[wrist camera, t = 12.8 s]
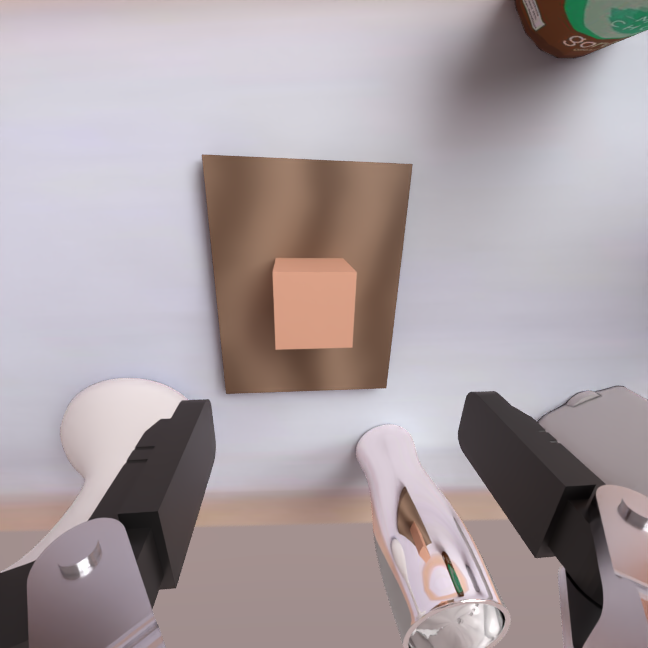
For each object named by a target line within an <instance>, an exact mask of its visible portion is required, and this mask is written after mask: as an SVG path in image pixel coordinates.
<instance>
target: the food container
mask: <svg viewBox="0 0 648 648" xmlns="http://www.w3.org/2000/svg"><path fill="white" fill-rule="evenodd" d="M515 5H516V10H517V12H518V15H519V17H520V20H521V23H522V25H523V28H524V30H525V33H526V34H527V35H528V36H529V38H530V39H531V40H532V41H533V42H534V43H535V44H536V46H537V47H538V48H539V49H540V50H542V51H544V52H546V53H548V54H550V55H553V56H555V57H557V58H576V57H580V56H584V55H587V54H589V53H592V52H594V51H596V50H599V49H601V48H604V47H606V46H609V45H611V44H614V43H616V42H619V41H621V40H624V39H626V38H629V37H631V36H634V35H636V34H639V33H641V32H643V31H646V30H648V0H515Z"/></svg>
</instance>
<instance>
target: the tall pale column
mask: <svg viewBox="0 0 648 648" xmlns="http://www.w3.org/2000/svg"><path fill="white" fill-rule="evenodd" d="M597 393H598V394H597ZM538 423H539V424H540V425H541V426H542V427H543V428H544V429H545V431H546V432H549V433H550V434H551V435H552V436H553V437H554V438H555V439H556V440H557V442H558V443H561V444H562V445H563V446H564V447H565V448H566V449H567V450H569V451H570V452H571V453H572V454H573V455H574V456H575V457H576V458H577V459H579V460H580V461H581V462H582V463H583V464H584V465H585V466H586V467H587V468H589V469H590V470H591V471H592V472H593V473H594V474H595V475H596V476H597V477H599V478H600V479H601V480H602V481H603V482H604V483H605V484H606V485H617V486H622V487H625V488H628V489H631V490H634V491H636V492H638V493H641V494H643V495H645V496H646V497H648V400H647V399H645V398H644V397H642V396H640V395H638V394H636V393H635V392H633V391H631V390H629V389H627V388H625V387H624V386H614V387H610V388H607V389H603V390H600V391H596V392H593V391H584V392H580V393H578V394H576V395H575V396H573V397H572V398H571V399H570V400H569V401H568V402H567V403H566V404H564V405H562V406H560V407H558V408H557V409H555V410H553V411H551V412H549V413H547V414H545V415H544V416H543V417H542V418H541V419H540V420H539V421H538Z"/></svg>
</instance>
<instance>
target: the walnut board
mask: <svg viewBox="0 0 648 648" xmlns="http://www.w3.org/2000/svg"><path fill="white" fill-rule="evenodd" d="M202 161H203V171H204V180H205V190H206V200H207V210H208V220H209V230H210V240H211V250H212V260H213V269H214V279H215V289H216V299H217V309H218V319H219V329H220V339H221V348H222V358H223V368H224V378H225V388H226V394H235V393H263V392H291V391H319V390H348V389H376V388H386V386H387V377H388V369H389V360H390V352H391V343H392V335H393V326H394V318H395V309H396V301H397V292H398V284H399V275H400V267H401V258H402V250H403V241H404V233H405V224H406V216H407V207H408V199H409V190H410V182H411V173H412V165H413V164H396V163H375V162H353V161H331V160H309V159H287V158H265V157H243V156H221V155H202ZM276 258H344V259H345V261H346V262H347V263H348V264H349V265H350V266H351V267H352V268H353V269H354V270H355V271H356V272H357V279H356V296H355V312H354V329H353V346H352V348H319V349H282V350H276V348H275V323H274V298H273V268H274V264H275V259H276Z"/></svg>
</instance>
